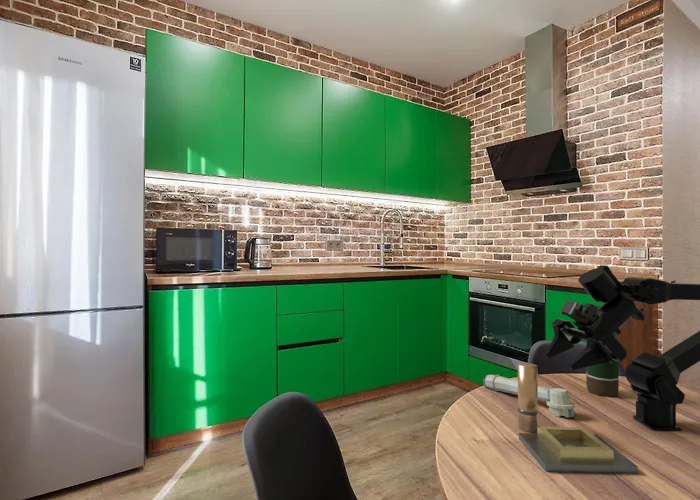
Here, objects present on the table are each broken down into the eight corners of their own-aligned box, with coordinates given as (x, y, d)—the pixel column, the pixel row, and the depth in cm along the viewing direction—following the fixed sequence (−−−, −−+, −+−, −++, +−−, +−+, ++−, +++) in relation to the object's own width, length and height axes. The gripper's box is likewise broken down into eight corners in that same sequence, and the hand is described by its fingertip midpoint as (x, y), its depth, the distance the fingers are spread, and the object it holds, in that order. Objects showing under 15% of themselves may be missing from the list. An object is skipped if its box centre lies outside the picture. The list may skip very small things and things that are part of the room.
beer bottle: (590, 385, 112) (589, 304, 112) (622, 392, 107) (621, 306, 107) (582, 392, 107) (581, 306, 107) (614, 399, 101) (614, 309, 101)
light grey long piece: (493, 372, 113) (576, 385, 92) (495, 395, 112) (581, 414, 91) (480, 375, 111) (563, 389, 89) (483, 398, 110) (568, 419, 88)
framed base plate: (596, 440, 80) (596, 424, 80) (637, 473, 68) (637, 455, 68) (518, 438, 80) (518, 423, 80) (545, 471, 68) (545, 453, 68)
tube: (533, 424, 87) (532, 362, 87) (541, 432, 83) (541, 368, 83) (515, 423, 87) (514, 362, 87) (522, 432, 83) (521, 368, 83)
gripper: (562, 286, 96) (515, 326, 95) (617, 294, 77) (560, 344, 76) (589, 320, 96) (543, 360, 95) (651, 336, 77) (594, 387, 77)
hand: (557, 362), depth 86 cm, fingers open, 9 cm apart
